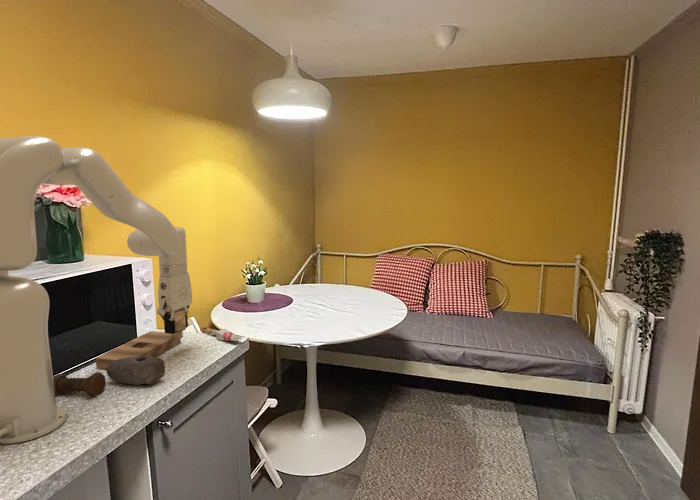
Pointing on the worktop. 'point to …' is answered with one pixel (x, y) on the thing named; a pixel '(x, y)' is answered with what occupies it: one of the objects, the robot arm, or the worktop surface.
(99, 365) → the board
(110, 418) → the worktop surface
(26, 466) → the worktop surface
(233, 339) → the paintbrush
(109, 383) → the worktop surface
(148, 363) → the perforated stone tool
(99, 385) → the bolt
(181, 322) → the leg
